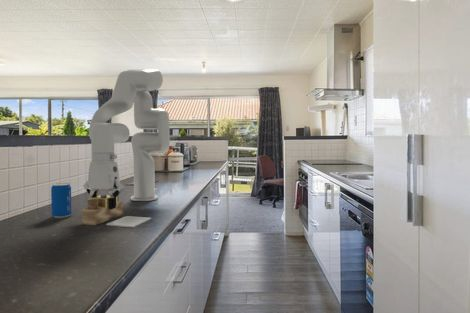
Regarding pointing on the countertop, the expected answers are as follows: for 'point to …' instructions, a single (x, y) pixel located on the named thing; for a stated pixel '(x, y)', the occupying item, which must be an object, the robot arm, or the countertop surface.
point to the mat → (129, 221)
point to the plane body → (100, 212)
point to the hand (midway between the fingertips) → (103, 207)
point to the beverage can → (61, 200)
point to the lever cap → (103, 200)
